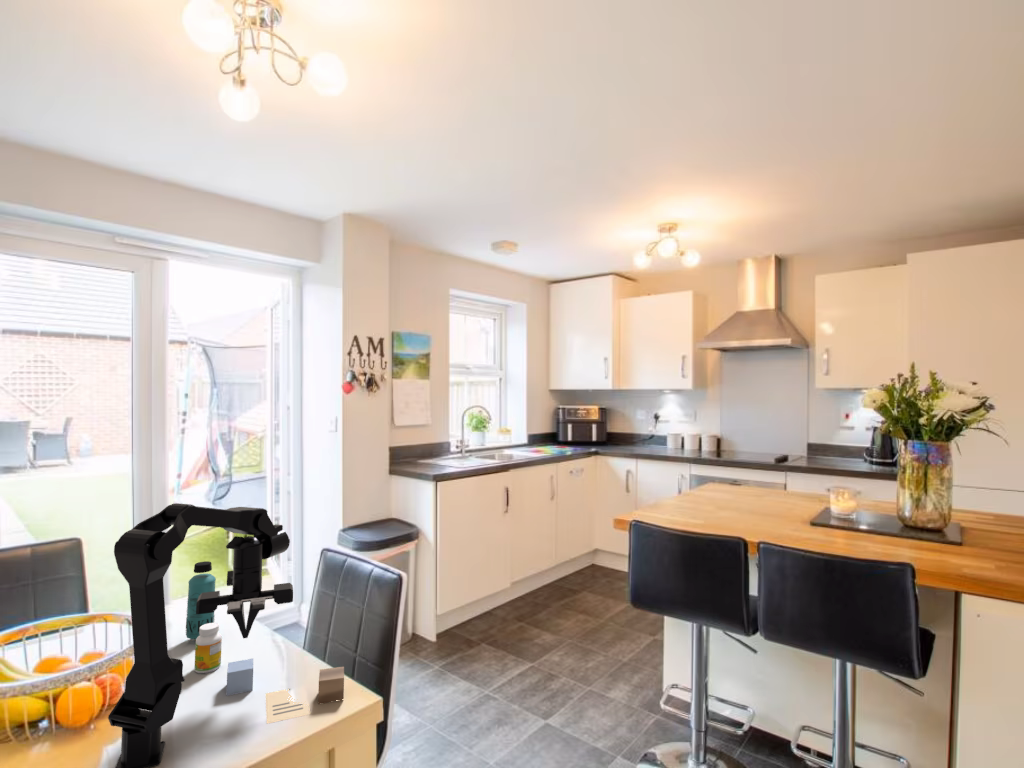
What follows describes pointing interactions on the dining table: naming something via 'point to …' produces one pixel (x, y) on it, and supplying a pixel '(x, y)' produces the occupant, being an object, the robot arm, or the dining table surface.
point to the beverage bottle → (196, 587)
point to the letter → (283, 707)
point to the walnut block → (331, 685)
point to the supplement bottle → (208, 648)
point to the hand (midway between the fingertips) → (245, 637)
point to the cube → (240, 676)
